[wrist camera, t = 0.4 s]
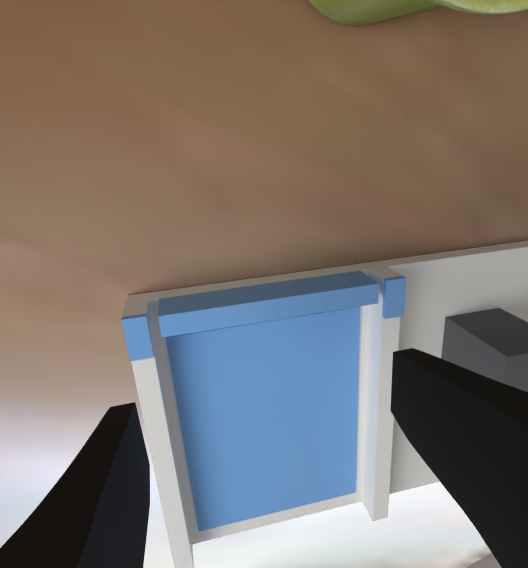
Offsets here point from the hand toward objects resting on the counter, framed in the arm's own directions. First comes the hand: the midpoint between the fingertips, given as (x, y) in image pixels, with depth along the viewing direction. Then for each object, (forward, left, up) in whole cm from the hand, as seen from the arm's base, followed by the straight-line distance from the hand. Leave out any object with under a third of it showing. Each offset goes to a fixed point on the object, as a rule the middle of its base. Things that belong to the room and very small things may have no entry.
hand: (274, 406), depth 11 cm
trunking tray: (-8, -8, -10) cm, 15 cm away
